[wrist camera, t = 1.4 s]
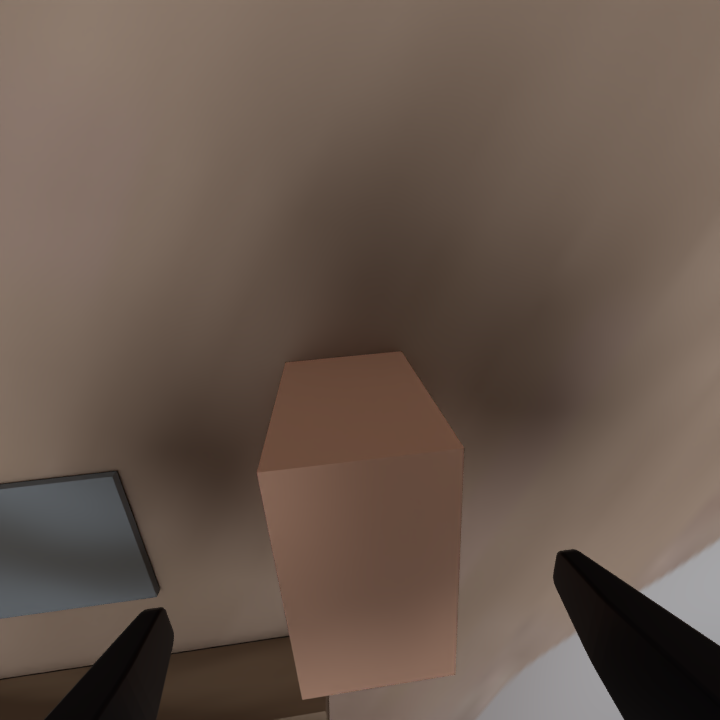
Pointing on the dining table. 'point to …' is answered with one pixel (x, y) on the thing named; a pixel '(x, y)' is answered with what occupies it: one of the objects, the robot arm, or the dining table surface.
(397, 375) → the block
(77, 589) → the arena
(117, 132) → the dining table surface
